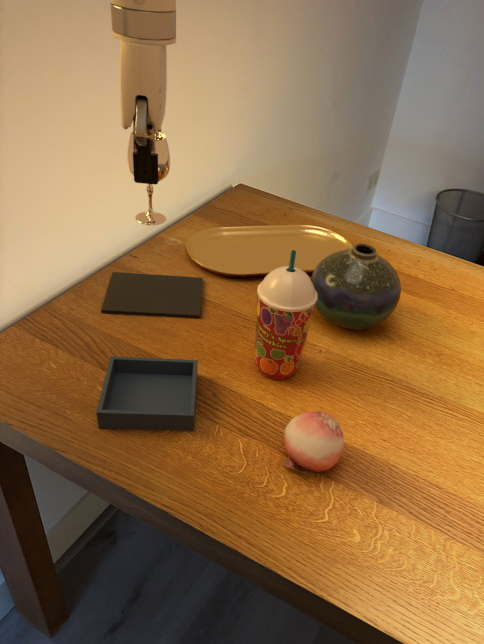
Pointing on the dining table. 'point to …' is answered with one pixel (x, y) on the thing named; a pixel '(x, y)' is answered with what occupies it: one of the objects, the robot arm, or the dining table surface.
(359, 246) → the vase
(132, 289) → the mat
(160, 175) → the wineglass
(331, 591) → the dining table surface
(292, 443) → the onion
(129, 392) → the tray
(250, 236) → the serving platter
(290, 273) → the smoothie
